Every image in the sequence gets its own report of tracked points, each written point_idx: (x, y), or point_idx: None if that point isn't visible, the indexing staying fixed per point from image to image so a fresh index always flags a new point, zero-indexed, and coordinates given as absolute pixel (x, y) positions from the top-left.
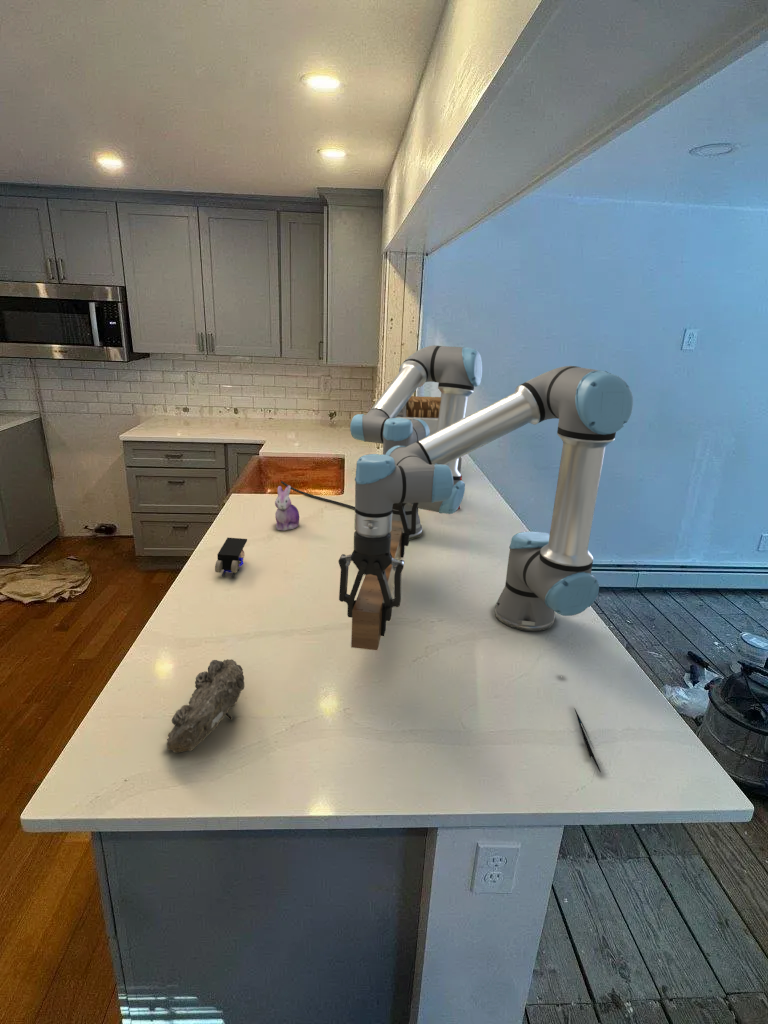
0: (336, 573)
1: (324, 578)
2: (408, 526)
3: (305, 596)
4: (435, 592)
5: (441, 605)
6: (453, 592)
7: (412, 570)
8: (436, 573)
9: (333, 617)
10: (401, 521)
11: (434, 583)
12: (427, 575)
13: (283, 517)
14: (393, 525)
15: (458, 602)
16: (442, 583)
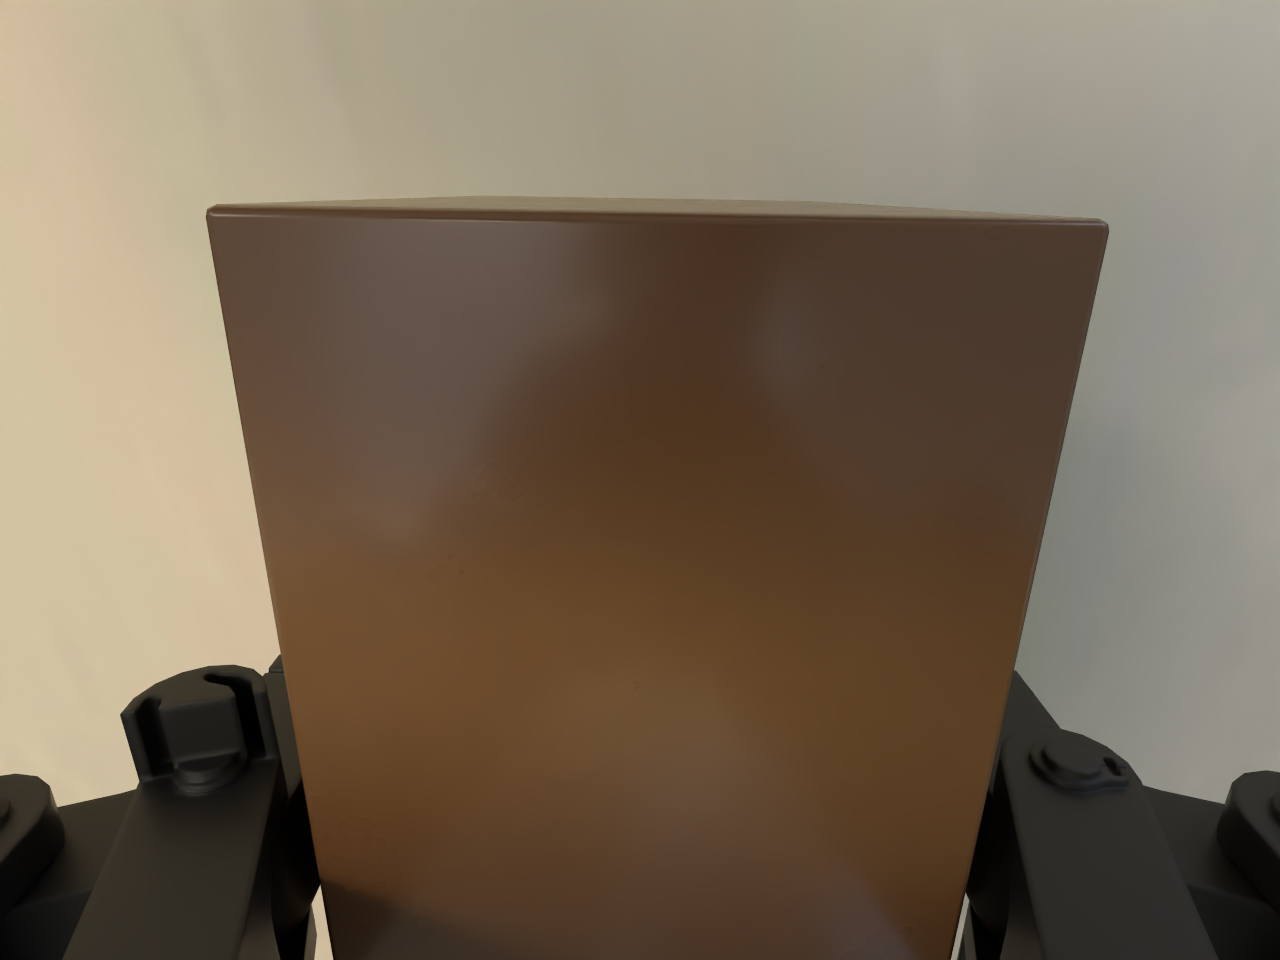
0: (61, 318)
1: (3, 450)
2: (1185, 915)
3: (21, 762)
4: (1067, 522)
5: (1079, 713)
6: (1238, 492)
7: (874, 51)
8: (1160, 78)
9: (332, 954)
10: (950, 308)
11: (1089, 344)
12: (1042, 160)
13: None
14: (636, 783)
15: (1233, 649)
16: (1174, 328)
